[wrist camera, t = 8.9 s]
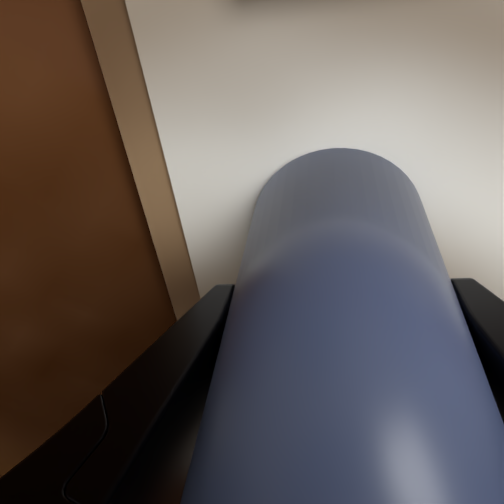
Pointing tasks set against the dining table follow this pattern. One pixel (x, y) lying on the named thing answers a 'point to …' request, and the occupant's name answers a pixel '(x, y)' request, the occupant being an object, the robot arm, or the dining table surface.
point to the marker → (345, 354)
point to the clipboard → (304, 115)
